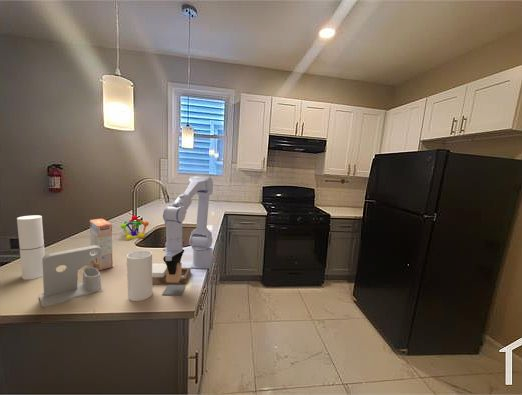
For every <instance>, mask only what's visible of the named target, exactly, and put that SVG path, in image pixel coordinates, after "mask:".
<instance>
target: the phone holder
mask: <svg viewBox="0 0 522 395" xmlns="http://www.w3.org/2000/svg"><path fill="white" fill-rule="evenodd" d="M95 249H97V250H98V252H97V253H95V254H91V251H92V250H95ZM100 255H101V248H100V247H99V246H98V245H93V246H91V245H89V246H84V247H78V248H72V249H65V250H62V251H55V252H49V253H47V254H45V256H44V257H43V259H42V264H43V276H42V280H43V282H42V283H43V292H42V293H41V294H39V297H38V298H39V300H40V301H39V302H40V306H41V307H42V308H48V307H50V305H51V306H54V305H57V303H58V304H60V302H61V303H63V301H64V302H67V300H68V301H71V300H74V299H77V298H80V297H81V298H82V297H84V296H87V295H90V294H94V293H96V292H100V291H102V283H101V282H102V281H101V272H100V270H98V269H97V268H96V266H95V267H94V266H93V267H92V266H91V267H88V268H84V269H83V270H82V282H79V283H78V280H79V278H78V276H79V275H78V274H79V271H80V270H81V269H82V268H83V267H85V266H87V265H88V264H90V263H92V261H93V260H94V259H96V258H97V257H99V256H100ZM61 266H65V267H66V268H64V269H63V270H61V271H58V270H57V268H58V267H61ZM47 306H48V307H47Z"/></svg>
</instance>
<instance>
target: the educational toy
mask: <svg viewBox="0 0 522 395" xmlns="http://www.w3.org/2000/svg"><path fill="white" fill-rule="evenodd" d="M132 221H135V222H132ZM149 224H150V223H149V222H148V221H144V220H143V221H142V220H141V219H140V218H138V216H136V215H132V216H131V219H130V220H128V221H124V222H123V223H122V224H120V228H121V229H122V230H123V231H124V233H125V235H126V236H125V239H126V240H127V241H130V240H131V239H134V238H139V239H144V238H146V234H145V231H146V228H147V227H148V226H149ZM130 225H136V228H135V230H133V229H132V228H131V226H130ZM141 225H143V230H142V232H141V233H137V230H138V229H139V227H140V226H141ZM126 228H127V229H129V231H130V232H131V233H130V234H129V233H128V231H127V229H126Z"/></svg>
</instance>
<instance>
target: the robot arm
mask: <svg viewBox="0 0 522 395" xmlns="http://www.w3.org/2000/svg"><path fill="white" fill-rule="evenodd" d="M213 188H214V181H213V179H212V177H211V176H209V177H208V176H196V175H195V176H194V175H191V176H190V177H189V178H188V186H187V187H186V188H185V189H186V190H185V191H184V192H183V193H180V194H179V195H178V196H177V198H176V199H175V200H174V201H173V202H172V203H171V205H170V206H169V205H168V206H167V207H165V208H164V210H163V214H162V219H163V221H164V226H165V229H166V230H165V233H166V234H165V235H166V236H165V237H166V242H165V243H166V246H165V247H164V248H163V249H162V251H164V252H165V255H164V256H163V258H162V259H163V261H164V264H166V265H167V268H168V272H169V275H175V273H176V268H177V263H181V261H182V257H183V254H184V252H185V249H184V247H183V222H184V221H185V218H186V215H187V210H188V209H189V207H190V206H191V205H192V203H193V200H192V198H193V197H194V196H195V195H197V196H198V203H197V213H196V214H197V215H196V225H195V226H196V227H195V229H192V230H191V232H190V237H189V240H188V241H189V242H188V243H189V245H190V247H191V249H192V264H191V265H190V268H191V269H211V268H212V265H213V261H214V259H213V257H214V256H213V254H214V251H213V250H214V249H213V247H211V246H212V243H213V234H212V231H210V230H209V229H208V228H207V226H208V216H209V215H208V214H209V203H210V202H209V200H210V195H212V194H213V190H214V189H213Z"/></svg>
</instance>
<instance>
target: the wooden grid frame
mask: <svg viewBox="0 0 522 395" xmlns="http://www.w3.org/2000/svg"><path fill="white" fill-rule="evenodd" d="M191 271H192V268H191V267H182V273H181V275H183V276H181V279H180V280H179V282H166V274H165V276H164V277H152V285H153V284H155V285H160V284H161V285H162V284H163V285H186V283H187V280H189V277H190V275H191Z"/></svg>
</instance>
